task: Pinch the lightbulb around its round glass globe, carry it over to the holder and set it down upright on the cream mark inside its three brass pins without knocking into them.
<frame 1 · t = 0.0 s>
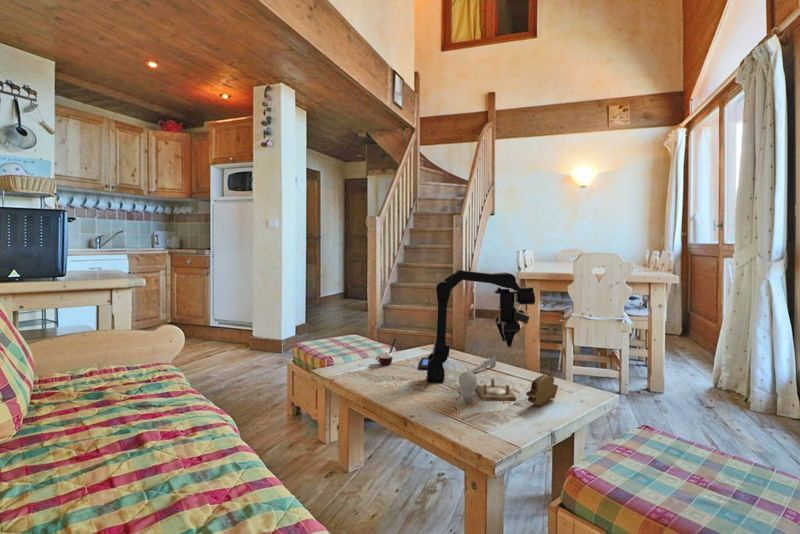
hand: (506, 344, 168), 15 cm above the table, tool pointing down, fingers open, 9 cm apart
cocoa: (386, 364, 192), on the table
wooden carving: (541, 404, 145), on the table
caliper: (480, 372, 181), on the table
pin holder: (495, 393, 154), on the table
handheld game console: (435, 366, 191), on the table
lightbulb: (467, 403, 145), on the table
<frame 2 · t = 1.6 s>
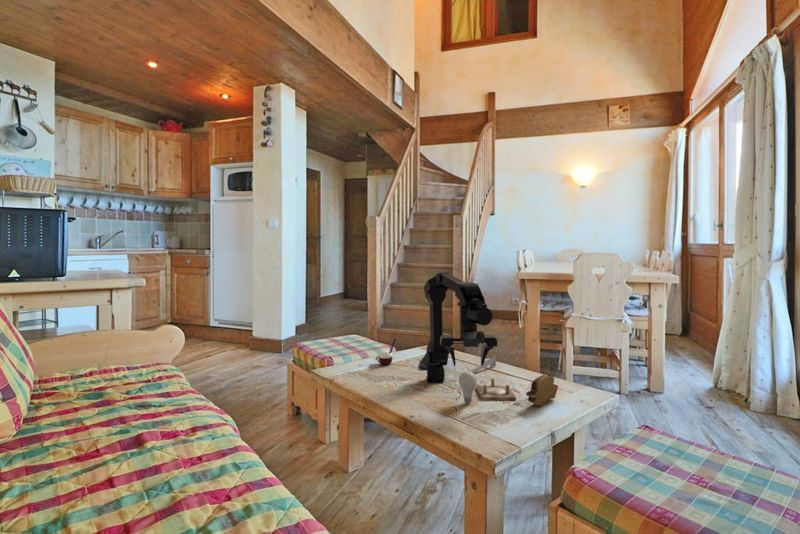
hand: (468, 365, 145), 13 cm above the table, tool pointing down, fingers open, 9 cm apart
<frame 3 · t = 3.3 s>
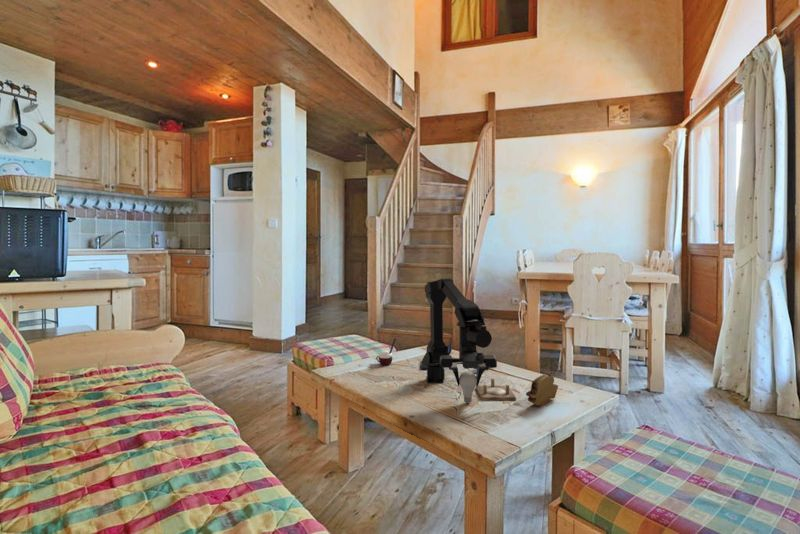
hand: (467, 386, 145), 6 cm above the table, tool pointing down, fingers closed on lightbulb, 6 cm apart
lightbulb: (467, 403, 145), on the table, touching gripper
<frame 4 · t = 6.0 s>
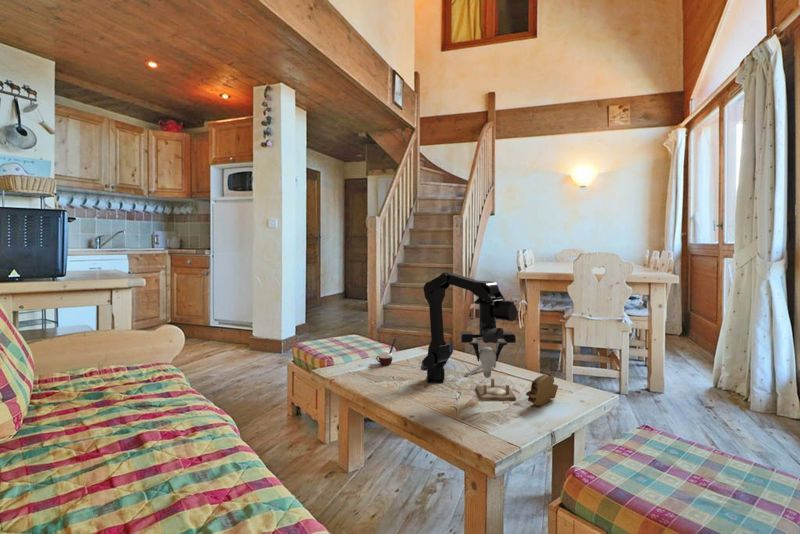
hand: (487, 361, 151), 13 cm above the table, tool pointing down, fingers closed on lightbulb, 6 cm apart
lightbulb: (487, 378, 151), point 7 cm above the table, touching gripper
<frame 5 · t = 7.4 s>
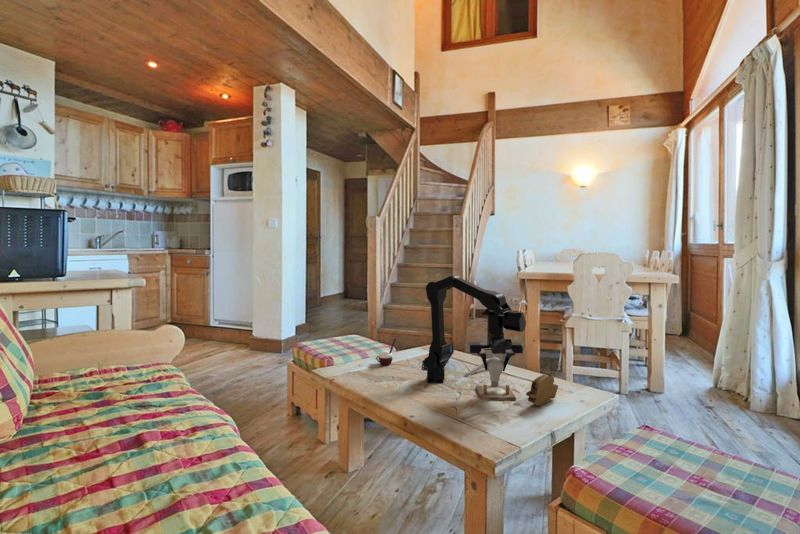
hand: (494, 371, 154), 8 cm above the table, tool pointing down, fingers closed on lightbulb, 6 cm apart
lightbulb: (494, 387, 154), point 2 cm above the table, touching gripper
when the fingers open (7 cm above the table, at t = 8.5 s): lightbulb stays where it is, resting on pin holder.
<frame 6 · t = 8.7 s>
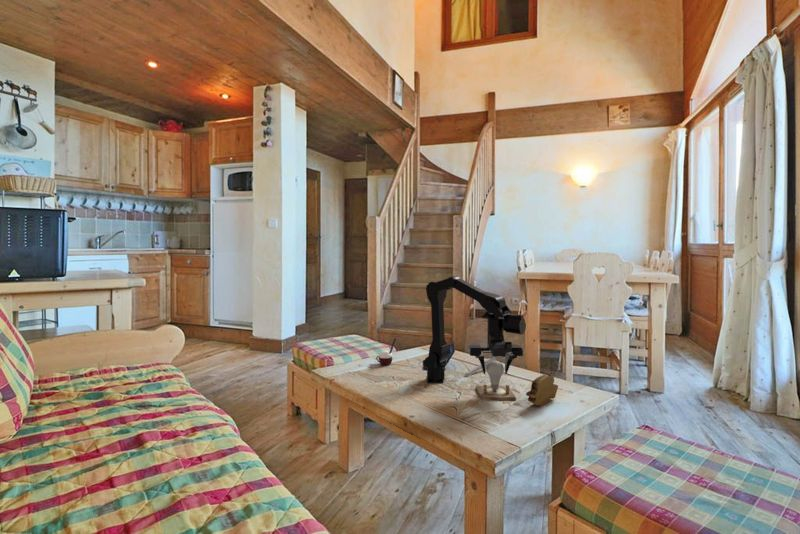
hand: (495, 373, 154), 7 cm above the table, tool pointing down, fingers open, 7 cm apart
lightbulb: (494, 391, 154), point 1 cm above the table, touching pin holder
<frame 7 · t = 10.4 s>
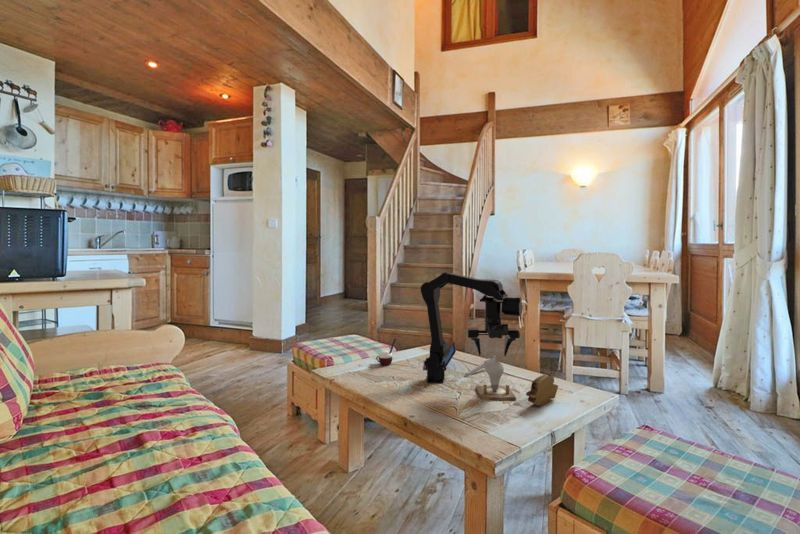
hand: (492, 355, 158), 13 cm above the table, tool pointing down, fingers open, 9 cm apart
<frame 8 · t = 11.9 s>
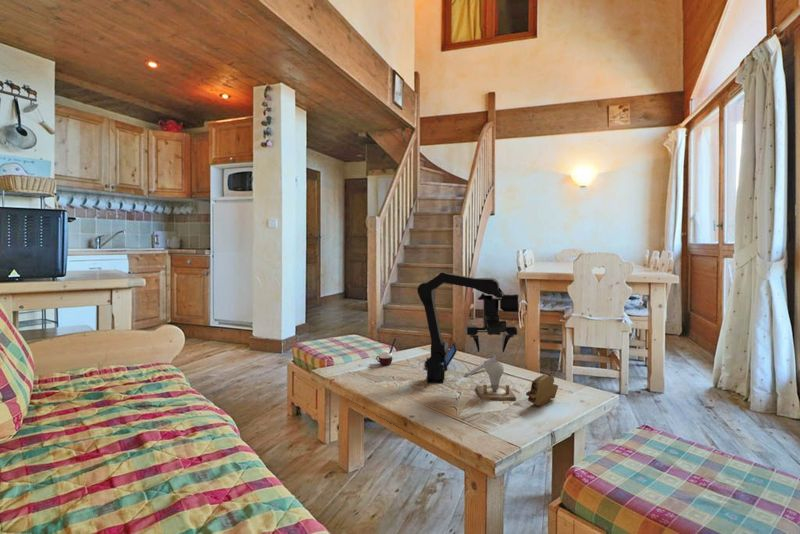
hand: (490, 352, 162), 13 cm above the table, tool pointing down, fingers open, 9 cm apart
at the end: lightbulb 0.1 cm off-centre on the pin holder, point 1.0 cm above the pin holder's base; lightbulb tilted 0°; the gripper is holding nothing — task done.
